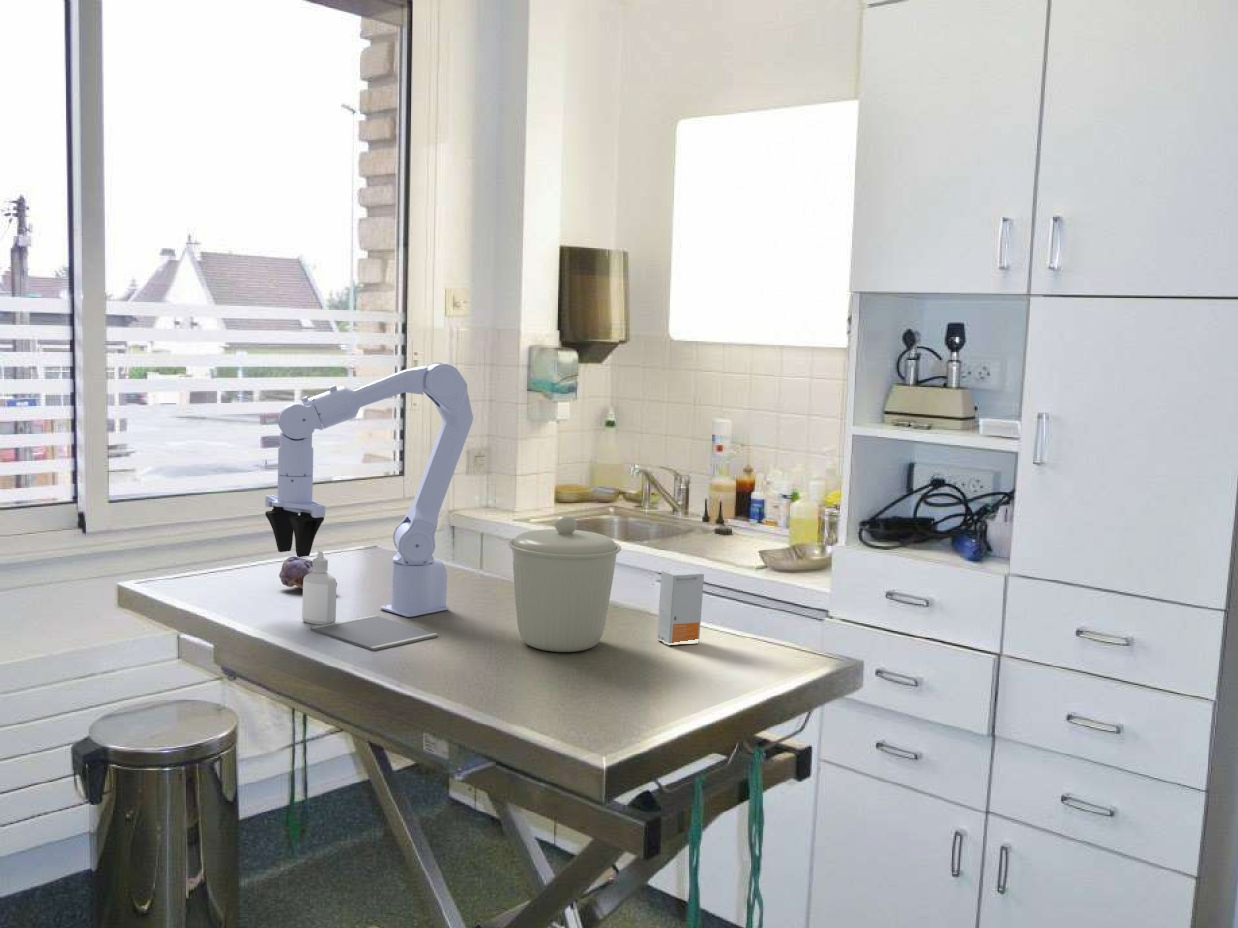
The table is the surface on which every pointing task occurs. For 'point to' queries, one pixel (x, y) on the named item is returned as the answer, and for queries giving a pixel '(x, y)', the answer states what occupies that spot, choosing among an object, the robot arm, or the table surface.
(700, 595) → the skincare box
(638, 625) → the table surface
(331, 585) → the eye dropper bottle
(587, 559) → the canister
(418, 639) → the mat
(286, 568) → the skull
